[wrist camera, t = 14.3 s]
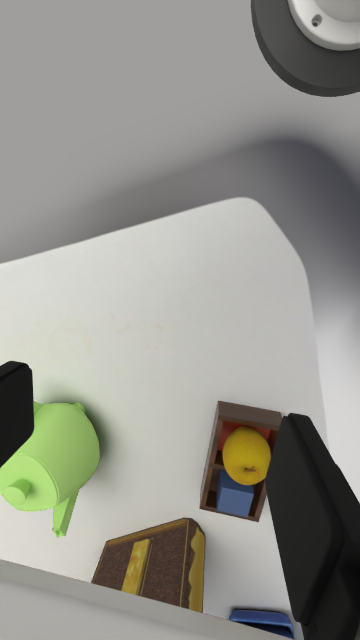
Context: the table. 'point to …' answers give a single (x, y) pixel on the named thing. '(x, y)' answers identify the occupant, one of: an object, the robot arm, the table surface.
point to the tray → (224, 425)
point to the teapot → (52, 463)
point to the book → (157, 564)
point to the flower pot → (264, 621)
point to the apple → (246, 456)
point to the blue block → (233, 495)
